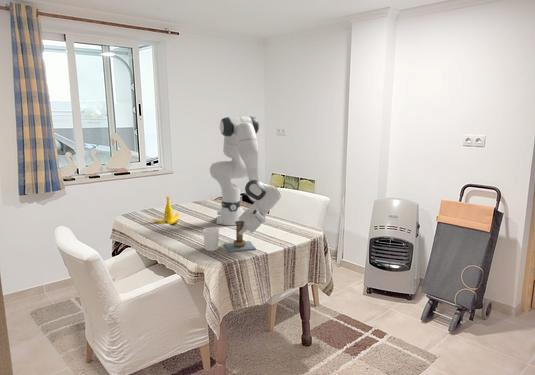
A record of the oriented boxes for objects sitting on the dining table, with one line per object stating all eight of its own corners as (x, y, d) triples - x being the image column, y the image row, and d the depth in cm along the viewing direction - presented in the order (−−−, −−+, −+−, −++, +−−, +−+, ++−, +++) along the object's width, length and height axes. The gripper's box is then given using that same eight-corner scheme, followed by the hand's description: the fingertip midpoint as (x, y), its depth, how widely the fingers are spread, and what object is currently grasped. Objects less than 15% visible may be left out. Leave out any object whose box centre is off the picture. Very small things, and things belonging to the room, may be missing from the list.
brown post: (232, 242, 204) (232, 220, 202) (243, 241, 206) (243, 219, 204) (235, 246, 199) (235, 223, 196) (246, 245, 200) (246, 222, 198)
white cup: (207, 245, 205) (207, 227, 203) (221, 247, 203) (221, 228, 201) (201, 250, 198) (200, 231, 196) (215, 252, 195) (214, 232, 193)
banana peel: (177, 226, 240) (176, 199, 237) (150, 223, 246) (149, 197, 243) (190, 219, 255) (190, 194, 252) (165, 216, 261) (164, 192, 258)
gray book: (223, 244, 206) (223, 243, 206) (249, 242, 210) (249, 240, 210) (228, 252, 195) (228, 251, 195) (255, 249, 199) (255, 248, 199)
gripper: (247, 204, 210) (229, 223, 209) (257, 213, 191) (238, 234, 190) (255, 211, 213) (237, 230, 212) (266, 221, 194) (247, 242, 193)
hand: (238, 232), depth 201 cm, fingers closed on brown post, 3 cm apart
